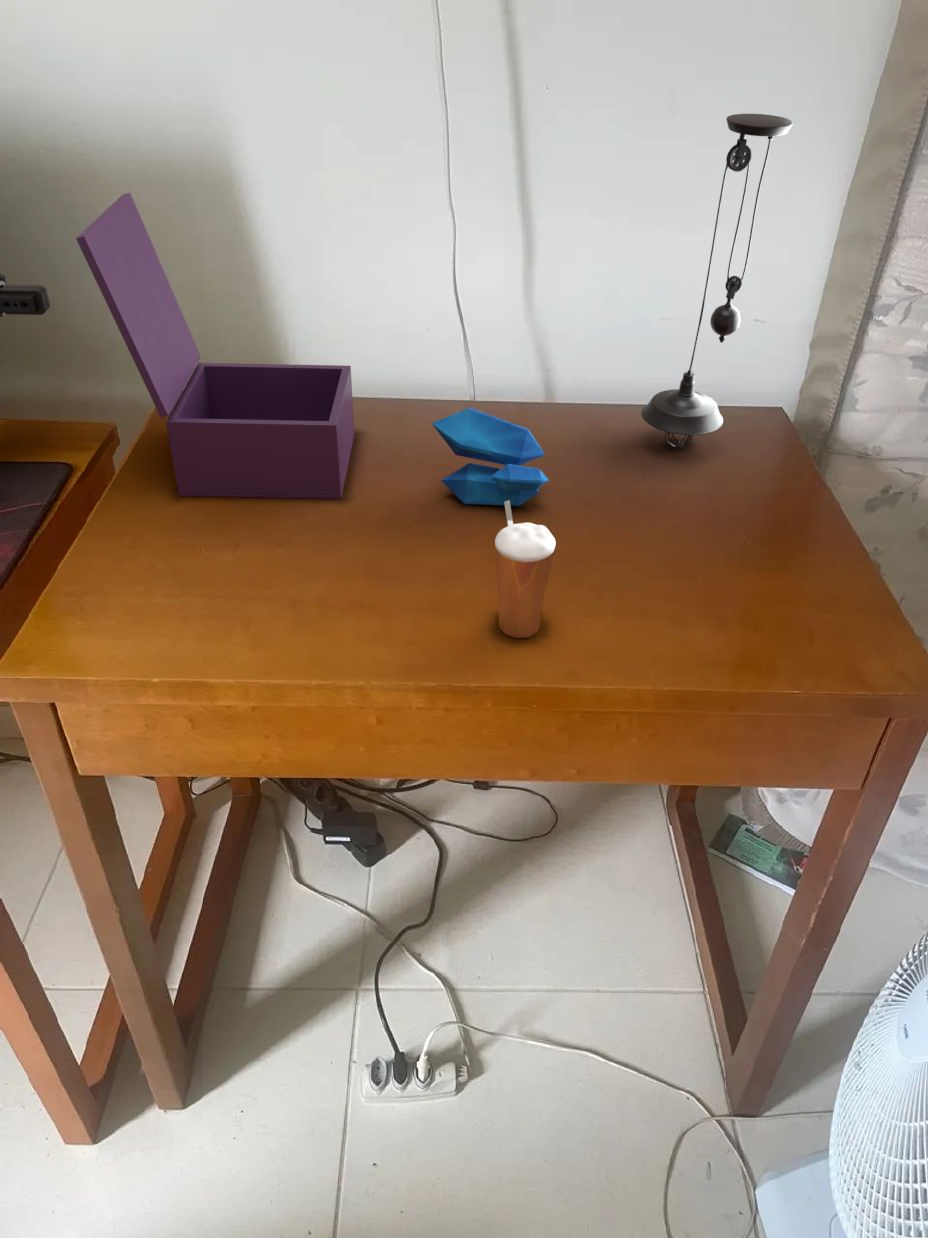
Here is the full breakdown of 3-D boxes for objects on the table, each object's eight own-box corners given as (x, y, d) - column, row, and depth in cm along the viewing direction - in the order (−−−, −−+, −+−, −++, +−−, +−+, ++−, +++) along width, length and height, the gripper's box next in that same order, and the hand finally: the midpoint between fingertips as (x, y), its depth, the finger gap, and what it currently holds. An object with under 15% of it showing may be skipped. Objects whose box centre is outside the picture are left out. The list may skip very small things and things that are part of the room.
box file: (354, 434, 105) (350, 365, 101) (341, 499, 94) (336, 424, 90) (208, 431, 105) (198, 362, 100) (178, 495, 94) (165, 421, 90)
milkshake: (525, 598, 82) (532, 494, 76) (558, 634, 78) (568, 528, 72) (476, 612, 80) (480, 507, 74) (507, 650, 77) (514, 542, 71)
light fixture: (706, 422, 109) (764, 109, 90) (743, 457, 103) (814, 128, 84) (624, 431, 107) (666, 112, 88) (657, 468, 101) (710, 132, 82)
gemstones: (561, 456, 88) (431, 420, 87) (533, 535, 93) (410, 501, 92) (562, 419, 94) (441, 385, 93) (536, 495, 99) (421, 464, 98)
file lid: (130, 191, 90) (122, 194, 91) (84, 235, 80) (75, 237, 80) (201, 357, 100) (193, 358, 100) (168, 416, 89) (160, 418, 89)
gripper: (-200, 279, 82) (8, 282, 82) (-125, 233, 93) (60, 236, 93) (-167, 364, 87) (30, 368, 87) (-99, 311, 97) (77, 314, 97)
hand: (45, 299), depth 90 cm, fingers closed
